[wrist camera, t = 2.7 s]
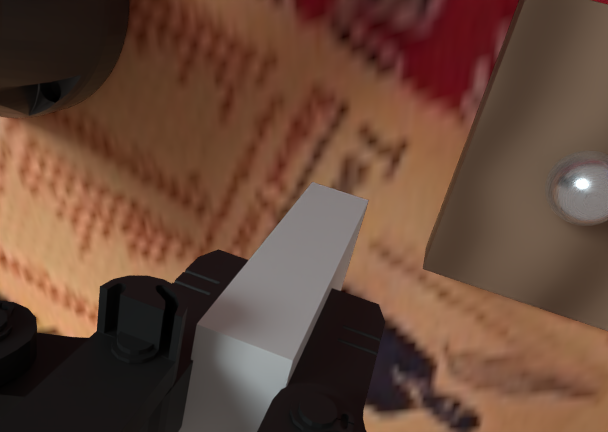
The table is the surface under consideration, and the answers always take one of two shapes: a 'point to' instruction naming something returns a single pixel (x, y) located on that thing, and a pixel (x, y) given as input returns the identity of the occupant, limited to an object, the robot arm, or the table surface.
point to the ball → (579, 188)
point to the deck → (532, 167)
